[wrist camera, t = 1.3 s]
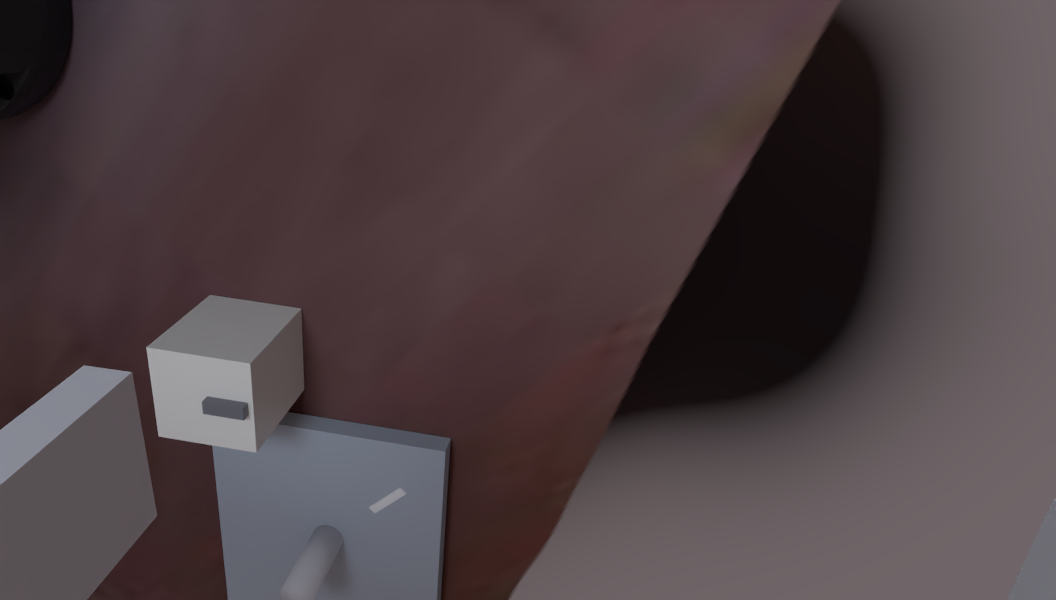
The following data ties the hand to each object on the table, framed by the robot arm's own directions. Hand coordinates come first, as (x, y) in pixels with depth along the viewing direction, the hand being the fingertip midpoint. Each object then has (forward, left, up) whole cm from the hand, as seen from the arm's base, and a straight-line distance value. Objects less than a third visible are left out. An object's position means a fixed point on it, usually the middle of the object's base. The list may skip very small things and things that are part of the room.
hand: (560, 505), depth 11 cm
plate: (-16, -32, -32) cm, 48 cm away
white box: (-21, -18, -32) cm, 43 cm away
